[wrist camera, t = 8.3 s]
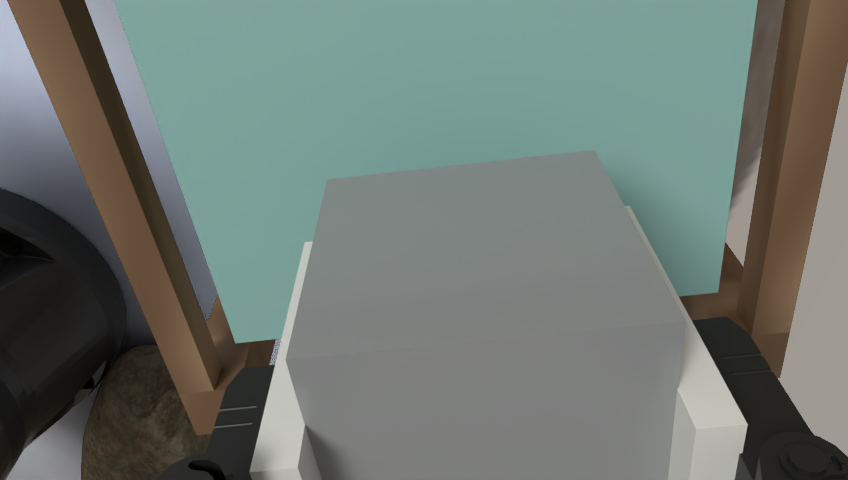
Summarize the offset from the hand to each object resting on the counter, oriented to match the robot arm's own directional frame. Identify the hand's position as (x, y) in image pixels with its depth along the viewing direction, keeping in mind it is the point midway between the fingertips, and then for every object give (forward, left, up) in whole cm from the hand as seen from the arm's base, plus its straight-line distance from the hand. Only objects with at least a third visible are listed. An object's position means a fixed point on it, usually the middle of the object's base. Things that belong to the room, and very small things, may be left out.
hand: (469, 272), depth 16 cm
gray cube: (0, 0, 0) cm, 0 cm away
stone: (-20, -23, -19) cm, 36 cm away
